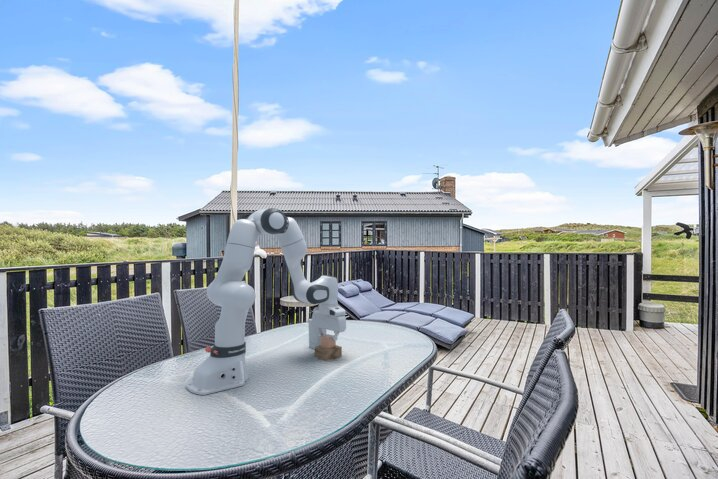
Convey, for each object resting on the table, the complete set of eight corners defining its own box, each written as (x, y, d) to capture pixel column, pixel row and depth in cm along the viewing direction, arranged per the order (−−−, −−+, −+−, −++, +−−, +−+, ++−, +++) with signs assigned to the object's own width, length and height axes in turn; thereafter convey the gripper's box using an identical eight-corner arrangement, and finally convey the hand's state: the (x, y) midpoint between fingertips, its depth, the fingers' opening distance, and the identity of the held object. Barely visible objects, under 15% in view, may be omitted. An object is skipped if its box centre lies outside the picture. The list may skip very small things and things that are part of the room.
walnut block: (327, 361, 164) (327, 350, 164) (314, 357, 171) (314, 346, 171) (341, 357, 171) (341, 346, 171) (328, 353, 177) (329, 342, 177)
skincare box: (327, 348, 184) (327, 319, 184) (317, 351, 179) (318, 321, 179) (317, 345, 190) (317, 316, 190) (307, 347, 185) (308, 318, 186)
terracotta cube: (328, 348, 167) (328, 338, 167) (320, 346, 170) (320, 336, 170) (335, 346, 171) (335, 336, 171) (328, 344, 174) (328, 334, 174)
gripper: (308, 307, 175) (308, 335, 175) (338, 313, 162) (338, 343, 162) (318, 305, 180) (317, 333, 180) (348, 311, 167) (347, 341, 166)
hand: (327, 338), depth 171 cm, fingers open, 8 cm apart
